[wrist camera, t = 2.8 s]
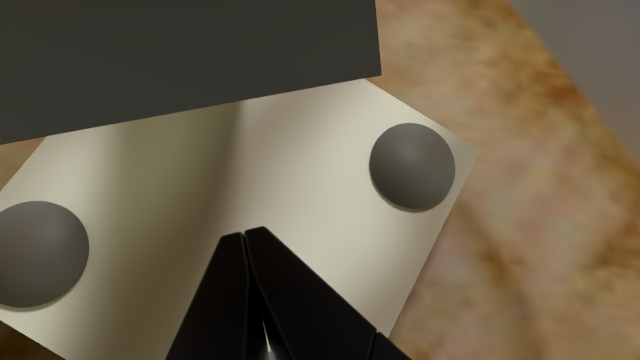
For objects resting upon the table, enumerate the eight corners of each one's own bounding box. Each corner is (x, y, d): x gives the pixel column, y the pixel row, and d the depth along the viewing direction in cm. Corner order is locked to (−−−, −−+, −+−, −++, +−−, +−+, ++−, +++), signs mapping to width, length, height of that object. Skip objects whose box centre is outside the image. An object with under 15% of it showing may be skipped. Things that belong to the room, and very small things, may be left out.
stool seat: (450, 166, 18) (482, 148, 15) (298, 465, 15) (307, 506, 12) (196, 11, 18) (185, -33, 15) (-17, 276, 14) (-76, 277, 12)
